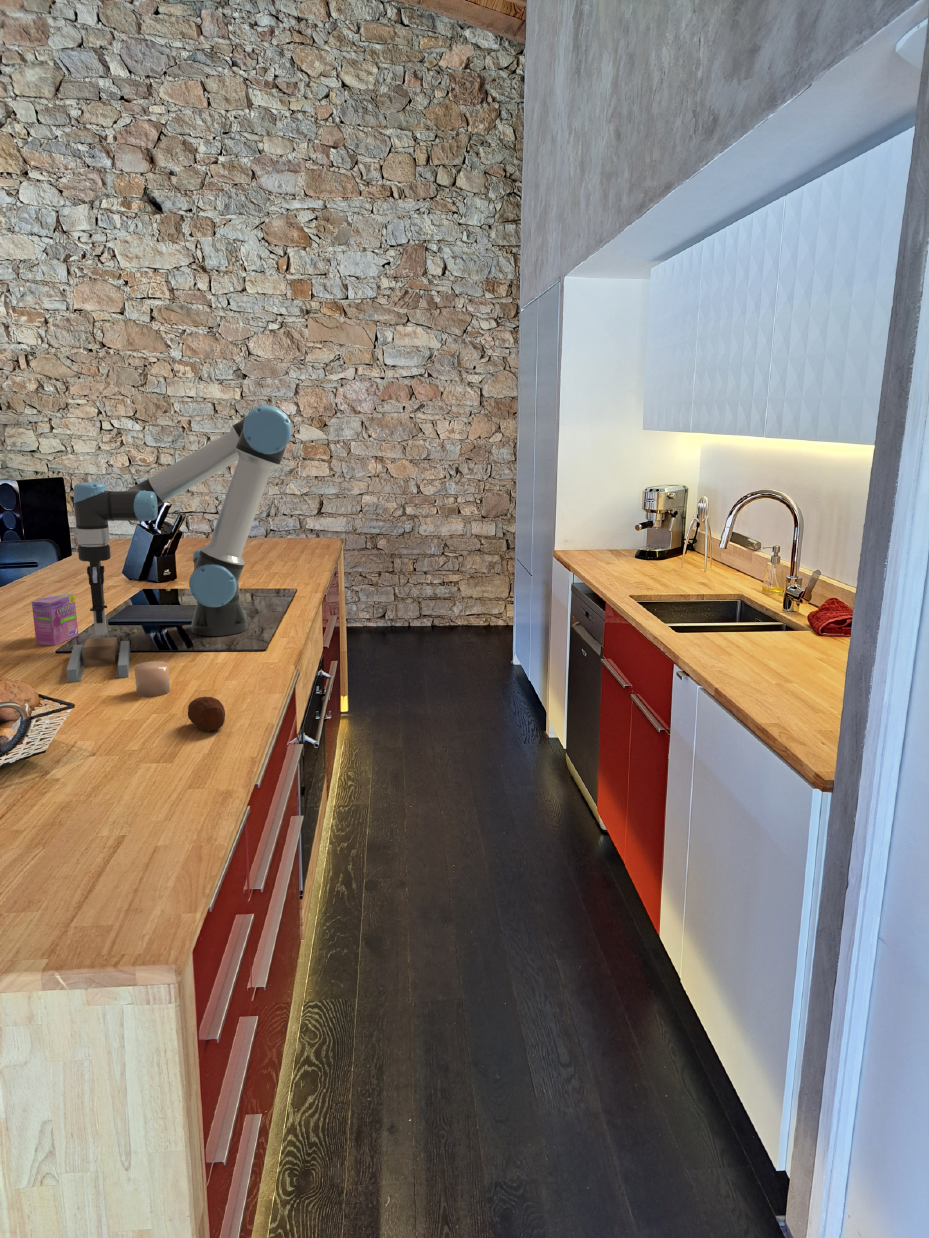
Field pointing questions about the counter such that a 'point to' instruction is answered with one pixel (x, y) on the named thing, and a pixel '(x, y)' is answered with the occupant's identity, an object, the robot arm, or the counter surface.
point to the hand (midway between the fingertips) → (100, 634)
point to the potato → (206, 713)
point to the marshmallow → (152, 679)
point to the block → (100, 651)
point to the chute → (77, 665)
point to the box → (55, 619)
